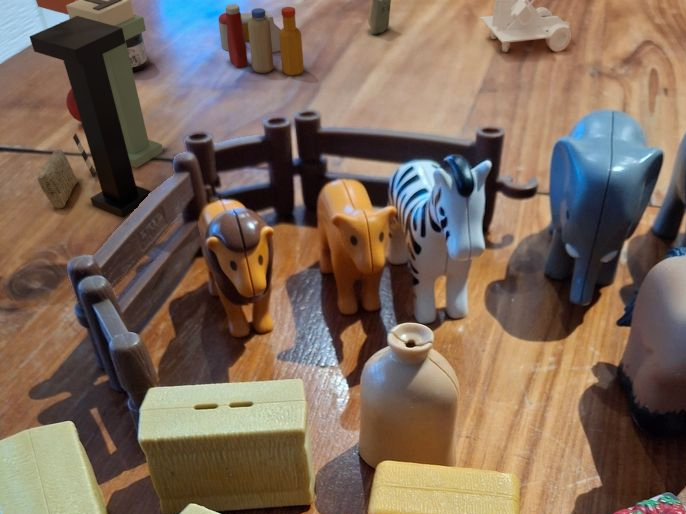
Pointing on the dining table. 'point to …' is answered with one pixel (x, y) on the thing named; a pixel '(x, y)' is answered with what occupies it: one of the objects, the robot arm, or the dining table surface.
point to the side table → (129, 97)
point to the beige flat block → (92, 9)
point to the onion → (72, 106)
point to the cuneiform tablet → (60, 176)
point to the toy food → (261, 39)
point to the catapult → (526, 24)
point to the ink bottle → (137, 52)
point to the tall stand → (95, 105)
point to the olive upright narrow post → (379, 16)
